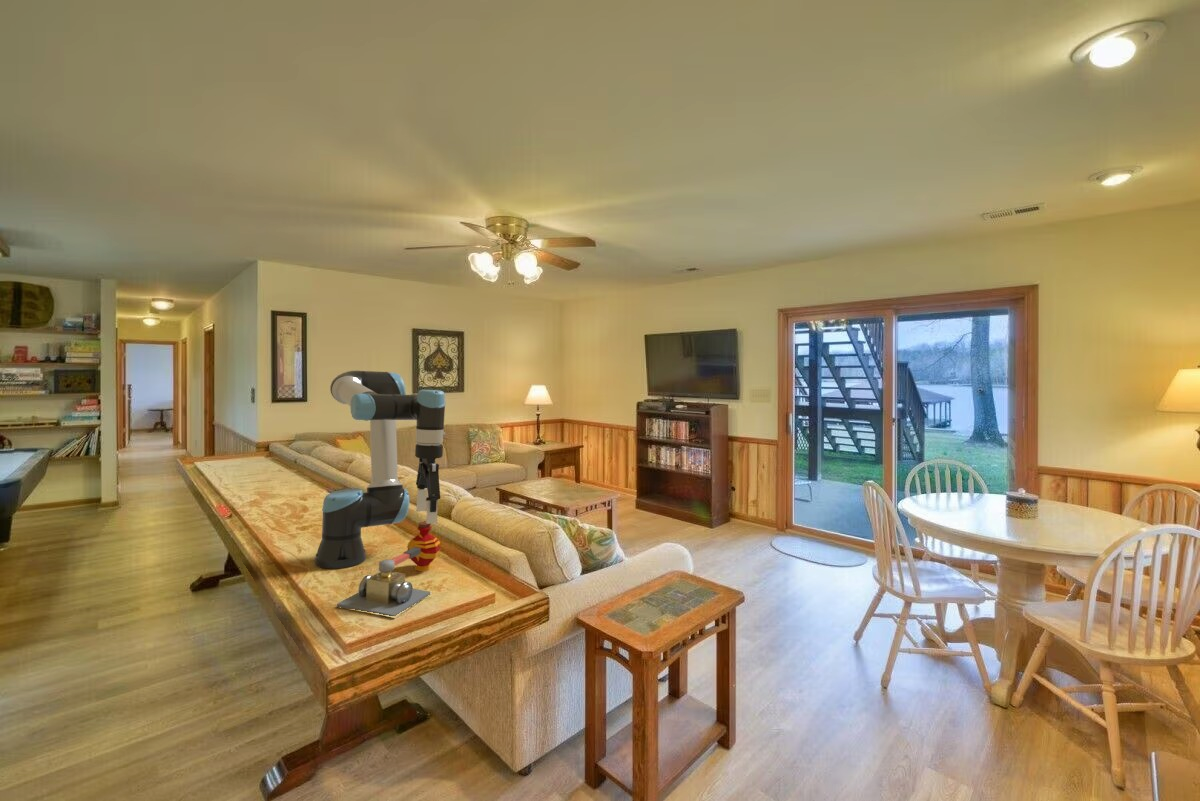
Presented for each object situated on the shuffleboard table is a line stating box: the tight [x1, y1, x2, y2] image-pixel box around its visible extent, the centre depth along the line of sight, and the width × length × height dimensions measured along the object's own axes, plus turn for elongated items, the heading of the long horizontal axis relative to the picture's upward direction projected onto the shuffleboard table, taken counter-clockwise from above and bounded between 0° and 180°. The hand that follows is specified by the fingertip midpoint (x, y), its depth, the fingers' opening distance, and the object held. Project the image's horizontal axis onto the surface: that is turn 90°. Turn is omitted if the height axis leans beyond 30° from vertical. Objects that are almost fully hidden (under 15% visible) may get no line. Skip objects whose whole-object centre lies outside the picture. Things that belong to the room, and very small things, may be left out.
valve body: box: [358, 570, 414, 605], centre depth 143 cm, size 14×7×8 cm, turn 75°
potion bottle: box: [406, 520, 441, 572], centre depth 168 cm, size 10×10×15 cm
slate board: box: [336, 588, 431, 616], centre depth 143 cm, size 18×16×1 cm
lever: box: [378, 547, 421, 572], centre depth 148 cm, size 16×4×2 cm, turn 165°
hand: (426, 516), depth 148 cm, fingers open, 13 cm apart
